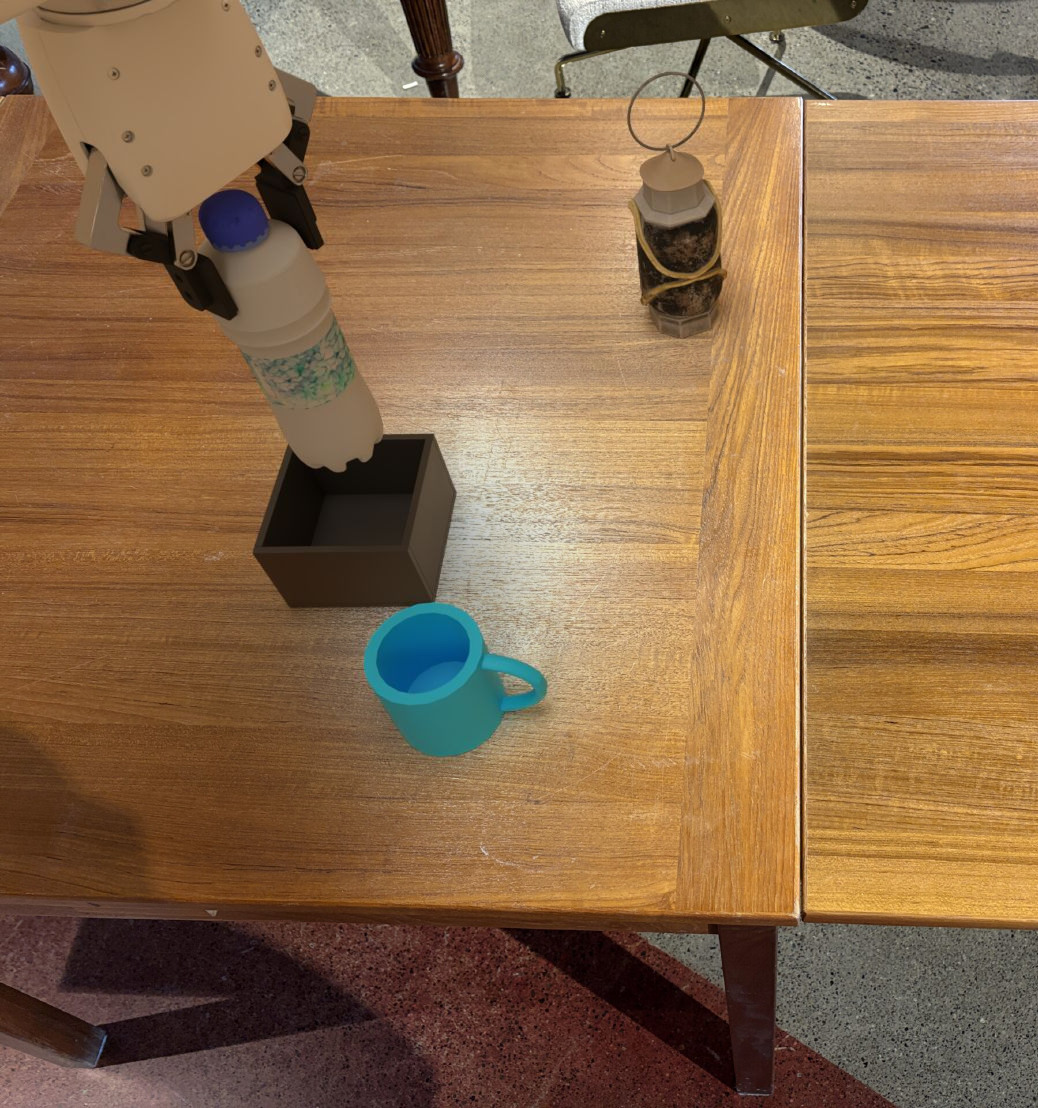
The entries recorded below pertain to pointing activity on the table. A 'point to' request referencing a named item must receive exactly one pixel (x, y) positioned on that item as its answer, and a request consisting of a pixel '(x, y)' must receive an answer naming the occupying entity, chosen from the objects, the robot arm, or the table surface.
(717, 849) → the table surface
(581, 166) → the table surface
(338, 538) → the bin
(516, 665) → the mug
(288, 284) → the bottle
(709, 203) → the lantern
